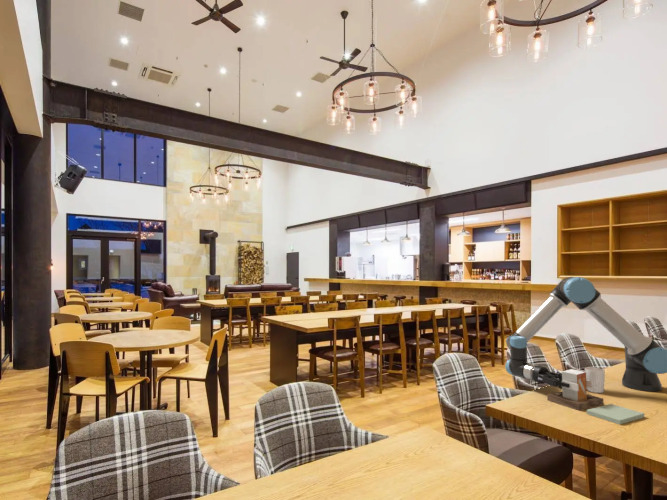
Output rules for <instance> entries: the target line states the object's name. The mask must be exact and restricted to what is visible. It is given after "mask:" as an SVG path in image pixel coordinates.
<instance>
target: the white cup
mask: <svg viewBox="0 0 667 500" xmlns="http://www.w3.org/2000/svg"><path fill="white" fill-rule="evenodd" d="M584 372H586V380H589V381H593V388H589V387H586V388H587V391H588V392H590V393H596V394H602V393H603V394H604V392H605V381H606V380H605V378H606V377H605V376H606V375H605V369H603V368H601V367H595V366H592V367H591V366H588V367H584Z"/></svg>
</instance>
